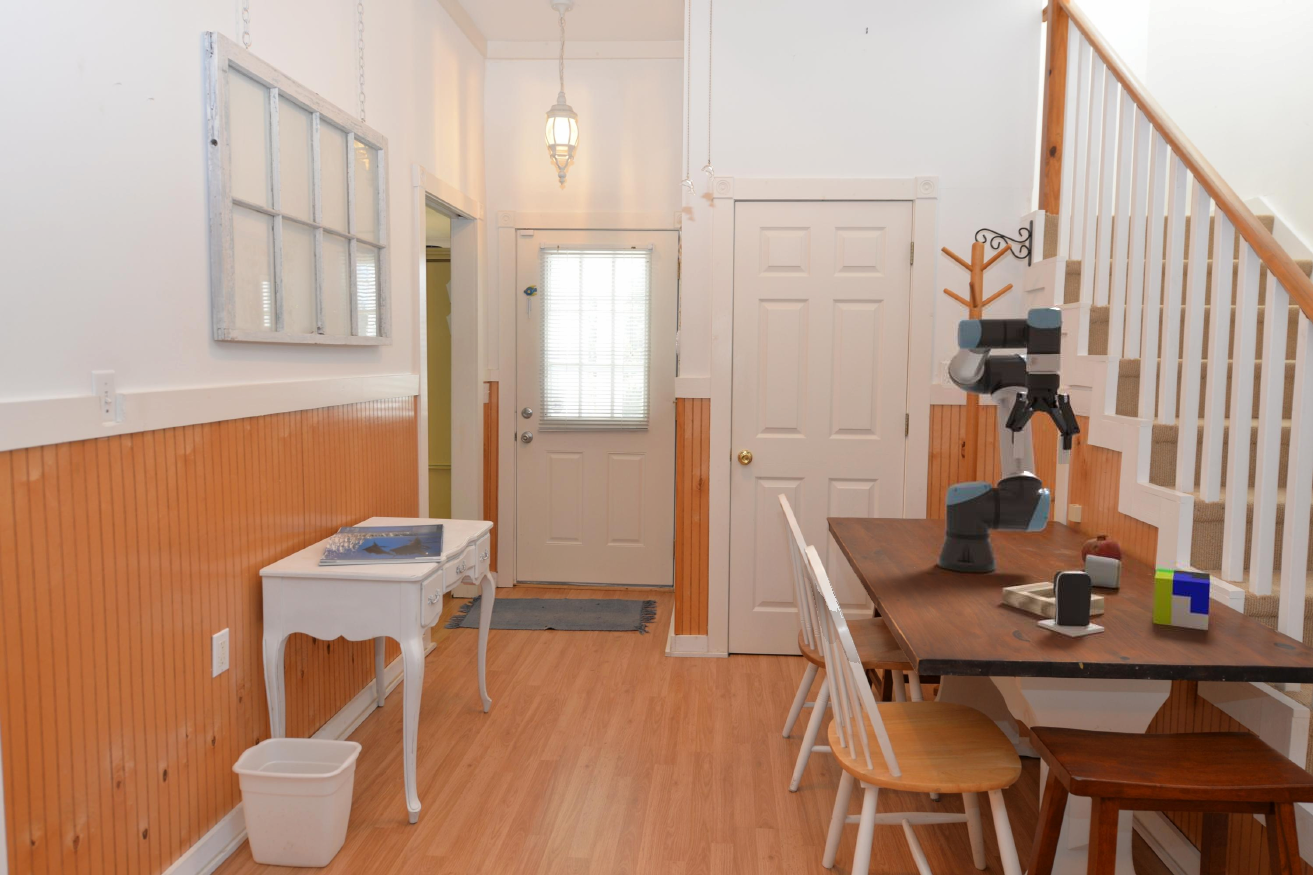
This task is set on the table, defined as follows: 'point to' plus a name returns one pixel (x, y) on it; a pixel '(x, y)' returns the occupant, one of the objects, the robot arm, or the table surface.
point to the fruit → (1102, 548)
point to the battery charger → (1072, 598)
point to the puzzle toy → (1181, 598)
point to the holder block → (1042, 599)
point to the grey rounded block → (1103, 571)
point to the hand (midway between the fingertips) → (1040, 460)
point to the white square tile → (1071, 628)
